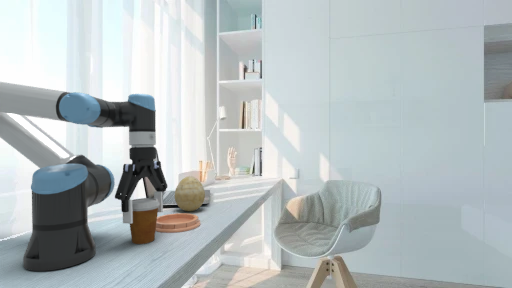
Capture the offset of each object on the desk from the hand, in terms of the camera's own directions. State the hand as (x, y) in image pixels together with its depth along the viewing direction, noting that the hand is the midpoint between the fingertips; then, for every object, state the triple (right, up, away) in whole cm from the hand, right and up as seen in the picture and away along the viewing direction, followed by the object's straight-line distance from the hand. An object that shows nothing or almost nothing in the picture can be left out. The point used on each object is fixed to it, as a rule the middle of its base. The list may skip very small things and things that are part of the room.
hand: (144, 217), depth 89 cm
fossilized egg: (+5, -7, +38) cm, 39 cm away
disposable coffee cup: (0, -7, 0) cm, 7 cm away
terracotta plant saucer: (+5, -7, +16) cm, 18 cm away
